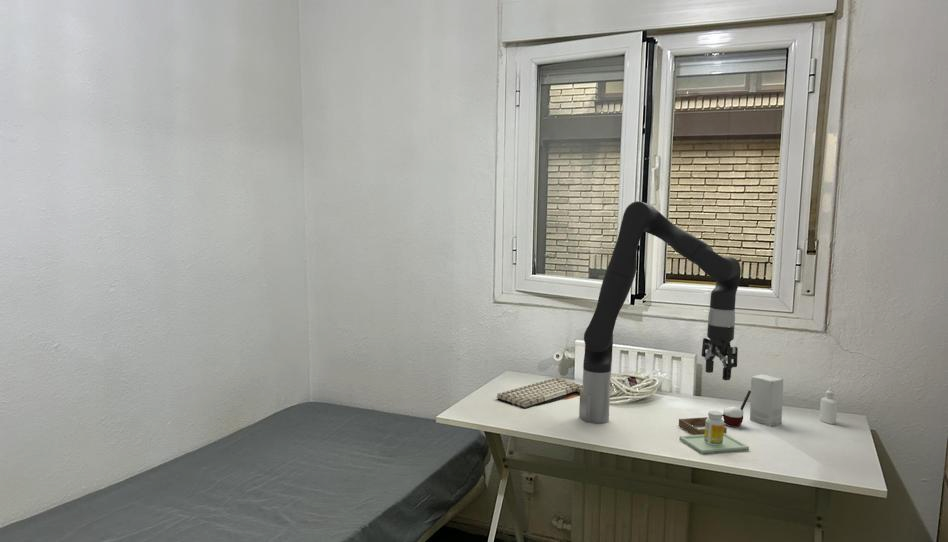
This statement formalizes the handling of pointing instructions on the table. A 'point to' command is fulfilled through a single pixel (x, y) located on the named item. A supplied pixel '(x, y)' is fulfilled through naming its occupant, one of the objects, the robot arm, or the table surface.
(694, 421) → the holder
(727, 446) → the tray
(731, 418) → the cocoa
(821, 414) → the eye dropper bottle
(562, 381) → the mechanical keyboard
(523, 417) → the table surface
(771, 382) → the skincare box
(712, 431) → the supplement bottle
